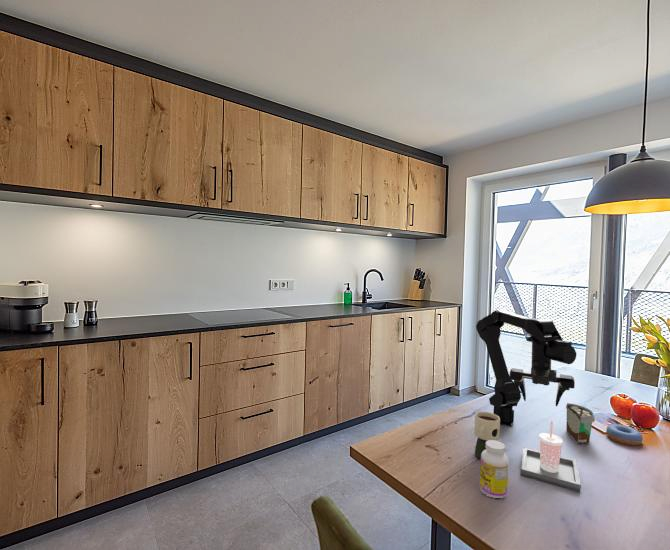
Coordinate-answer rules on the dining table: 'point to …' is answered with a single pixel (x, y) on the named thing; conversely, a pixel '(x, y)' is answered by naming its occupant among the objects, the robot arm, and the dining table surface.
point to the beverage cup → (550, 451)
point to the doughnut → (624, 434)
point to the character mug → (485, 430)
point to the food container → (579, 423)
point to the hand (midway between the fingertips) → (540, 403)
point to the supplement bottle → (494, 470)
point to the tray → (562, 478)
